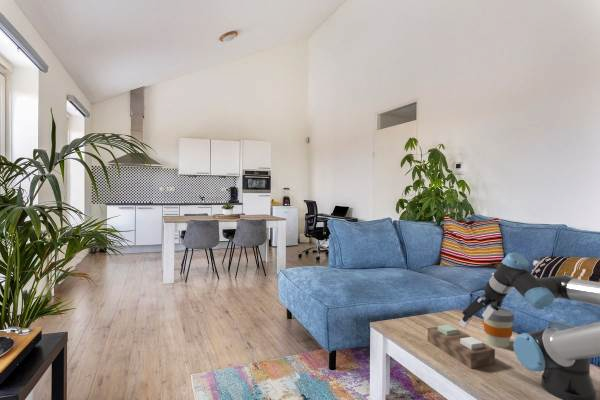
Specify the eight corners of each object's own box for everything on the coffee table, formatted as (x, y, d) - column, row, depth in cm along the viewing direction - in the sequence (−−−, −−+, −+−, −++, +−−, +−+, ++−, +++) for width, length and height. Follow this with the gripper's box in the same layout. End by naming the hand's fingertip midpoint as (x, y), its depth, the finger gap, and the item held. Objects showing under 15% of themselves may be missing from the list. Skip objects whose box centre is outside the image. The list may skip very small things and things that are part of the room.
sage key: (457, 340, 153) (457, 329, 153) (446, 342, 151) (446, 331, 151) (448, 334, 159) (448, 324, 158) (437, 336, 157) (437, 325, 157)
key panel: (494, 363, 138) (494, 349, 137) (471, 368, 134) (471, 353, 134) (448, 337, 162) (448, 325, 162) (427, 340, 159) (427, 328, 159)
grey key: (482, 354, 139) (483, 342, 139) (471, 356, 138) (471, 344, 138) (471, 348, 145) (471, 336, 145) (460, 350, 143) (460, 338, 143)
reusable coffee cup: (501, 352, 148) (501, 318, 147) (476, 340, 159) (476, 308, 159) (519, 346, 153) (520, 313, 152) (494, 335, 164) (494, 305, 164)
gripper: (511, 274, 138) (486, 307, 150) (468, 285, 128) (445, 320, 140) (527, 288, 133) (500, 321, 144) (483, 301, 123) (458, 336, 134)
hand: (473, 321), depth 142 cm, fingers open, 13 cm apart
